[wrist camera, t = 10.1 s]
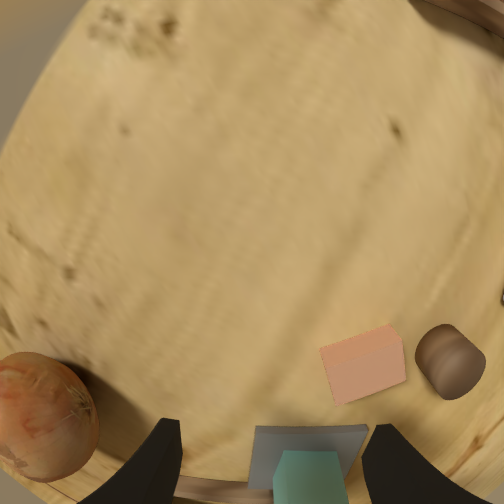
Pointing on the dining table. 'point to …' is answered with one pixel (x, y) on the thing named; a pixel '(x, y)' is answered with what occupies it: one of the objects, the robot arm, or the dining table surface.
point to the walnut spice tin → (449, 361)
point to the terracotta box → (364, 364)
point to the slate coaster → (301, 448)
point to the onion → (44, 418)
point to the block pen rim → (477, 12)
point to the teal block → (309, 478)
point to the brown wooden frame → (221, 491)
